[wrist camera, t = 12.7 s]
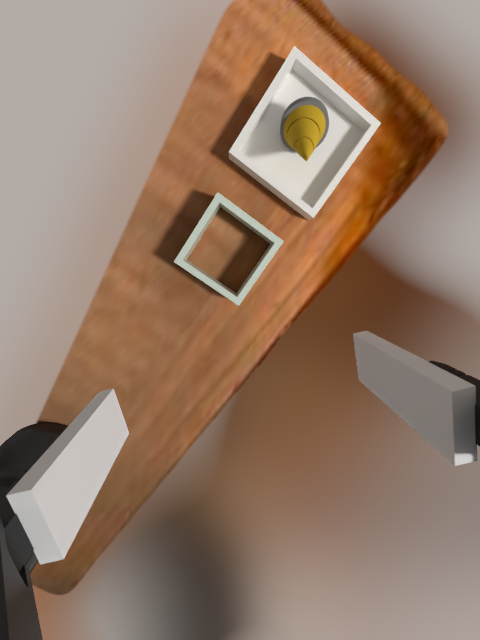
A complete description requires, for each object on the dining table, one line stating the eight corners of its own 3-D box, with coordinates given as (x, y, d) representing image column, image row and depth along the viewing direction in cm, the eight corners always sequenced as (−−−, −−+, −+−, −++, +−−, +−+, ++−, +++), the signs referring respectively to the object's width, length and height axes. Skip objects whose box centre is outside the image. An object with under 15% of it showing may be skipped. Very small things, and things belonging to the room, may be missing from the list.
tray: (308, 220, 37) (313, 218, 34) (228, 158, 35) (228, 151, 32) (370, 132, 35) (380, 123, 32) (289, 61, 33) (294, 45, 30)
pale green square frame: (237, 301, 39) (238, 305, 36) (178, 261, 37) (173, 261, 34) (278, 242, 37) (283, 241, 34) (218, 197, 36) (217, 192, 32)
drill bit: (331, 124, 34) (339, 173, 29) (289, 143, 37) (289, 192, 32) (320, 74, 30) (327, 121, 25) (273, 100, 33) (271, 147, 28)
